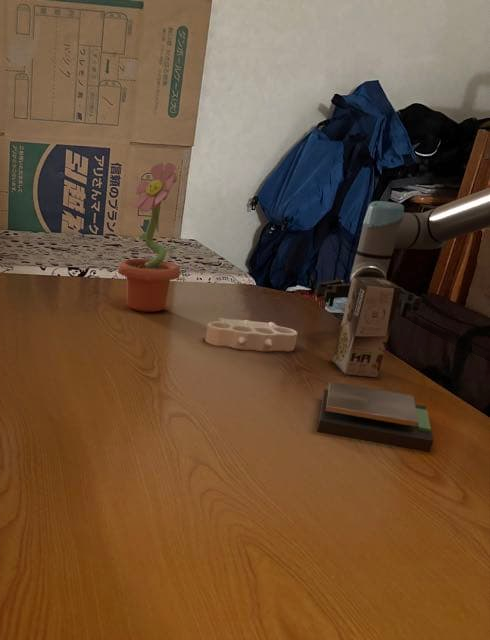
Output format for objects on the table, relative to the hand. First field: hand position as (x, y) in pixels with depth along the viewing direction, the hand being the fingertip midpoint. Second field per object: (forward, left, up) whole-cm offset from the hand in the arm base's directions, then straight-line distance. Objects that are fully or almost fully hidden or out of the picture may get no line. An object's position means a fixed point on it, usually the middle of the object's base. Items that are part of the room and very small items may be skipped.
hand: (368, 304), depth 149 cm
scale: (-3, +39, -10) cm, 41 cm away
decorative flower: (+47, -14, -10) cm, 50 cm away
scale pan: (-2, +39, -8) cm, 40 cm away
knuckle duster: (+21, +2, -10) cm, 23 cm away
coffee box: (0, +9, -10) cm, 14 cm away
